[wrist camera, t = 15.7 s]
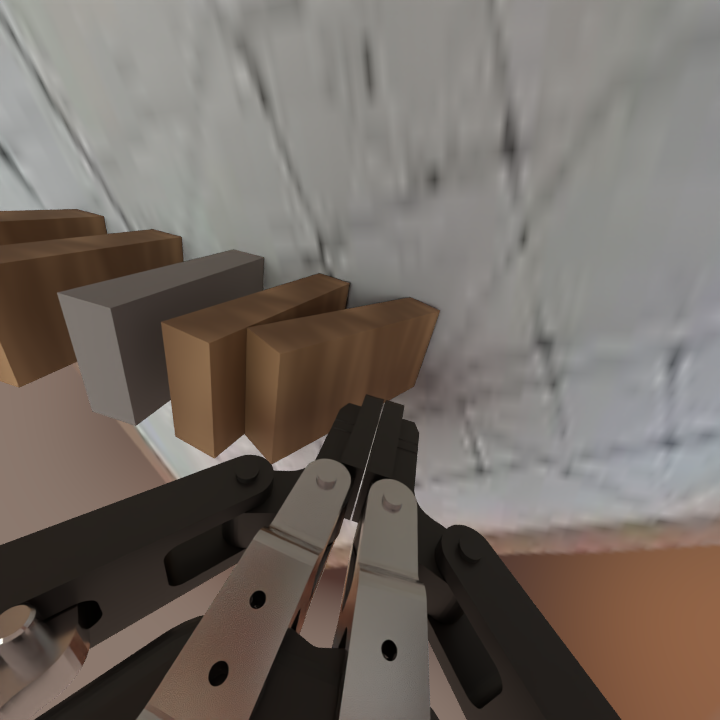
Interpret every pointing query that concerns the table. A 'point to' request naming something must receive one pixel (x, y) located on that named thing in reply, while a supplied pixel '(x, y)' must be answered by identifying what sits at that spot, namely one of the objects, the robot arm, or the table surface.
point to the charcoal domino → (145, 326)
